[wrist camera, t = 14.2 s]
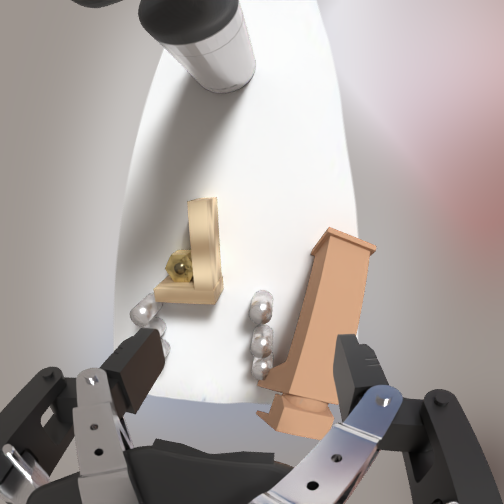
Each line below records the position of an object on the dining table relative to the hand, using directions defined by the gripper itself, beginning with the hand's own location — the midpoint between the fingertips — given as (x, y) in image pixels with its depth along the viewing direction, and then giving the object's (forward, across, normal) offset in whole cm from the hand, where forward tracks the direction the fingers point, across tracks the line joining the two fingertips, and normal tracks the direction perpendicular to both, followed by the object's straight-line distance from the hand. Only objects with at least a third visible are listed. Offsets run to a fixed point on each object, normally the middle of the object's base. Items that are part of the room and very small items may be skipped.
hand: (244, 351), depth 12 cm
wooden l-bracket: (+30, +12, +2) cm, 33 cm away
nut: (+30, +13, +5) cm, 33 cm away
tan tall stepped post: (+31, -6, +14) cm, 34 cm away
